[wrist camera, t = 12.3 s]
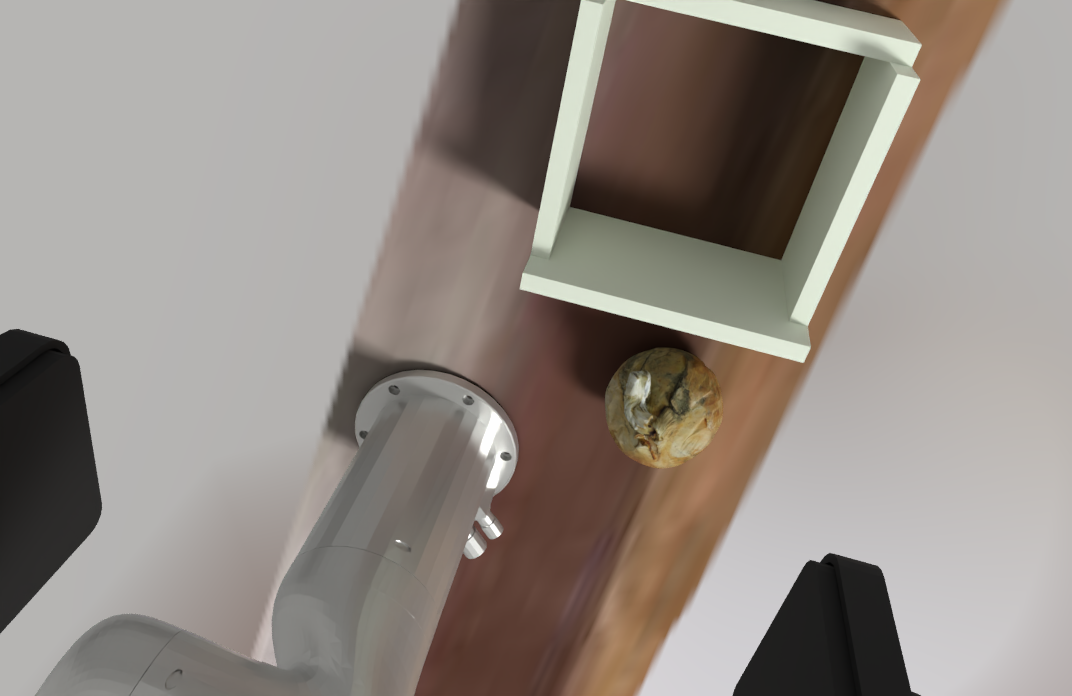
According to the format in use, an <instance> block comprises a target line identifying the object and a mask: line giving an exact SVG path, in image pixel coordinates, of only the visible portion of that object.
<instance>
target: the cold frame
mask: <svg viewBox="0 0 1072 696" xmlns="http://www.w3.org/2000/svg"><path fill="white" fill-rule="evenodd" d="M615 1H616V0H581V3H580V9H579V14H578V19H577V24H576V29H575V34H574V39H573V44H572V49H571V54H570V59H569V64H568V69H567V74H566V79H565V84H564V89H563V94H562V100H561V105H560V110H559V115H558V120H557V125H556V130H555V135H554V140H553V145H552V150H551V155H550V160H549V165H548V170H547V175H546V180H545V185H544V191H543V196H542V201H541V206H540V211H539V216H538V221H537V226H536V231H535V236H534V241H533V246H532V251H531V256H530V258H529V260H528V262H527V265H526V267H525V269H524V271H523V275H522V280H521V285H520V289H522V290H525V291H529V292H533V293H537V294H541V295H545V296H548V297H552V298H556V299H560V300H564V301H568V302H571V303H575V304H579V305H583V306H587V307H591V308H595V309H598V310H602V311H606V312H610V313H614V314H618V315H621V316H625V317H629V318H633V319H637V320H641V321H645V322H648V323H652V324H656V325H660V326H664V327H668V328H671V329H675V330H679V331H683V332H687V333H691V334H695V335H698V336H702V337H706V338H710V339H714V340H718V341H721V342H725V343H729V344H733V345H737V346H741V347H745V348H748V349H752V350H756V351H760V352H764V353H768V354H771V355H775V356H779V357H783V358H787V359H791V360H795V361H798V362H802V363H804V361H805V359H806V356H807V354H808V352H809V350H810V348H811V345H810V339H809V332H808V324H809V322H810V320H811V318H812V315H813V313H814V311H815V309H816V307H817V305H818V302H819V300H820V298H821V296H822V294H823V291H824V289H825V287H826V285H827V283H828V280H829V278H830V276H831V274H832V272H833V270H834V267H835V265H836V263H837V261H838V259H839V256H840V254H841V252H842V250H843V248H844V246H845V243H846V241H847V239H848V237H849V235H850V232H851V230H852V228H853V226H854V224H855V222H856V219H857V217H858V215H859V213H860V211H861V208H862V206H863V204H864V202H865V200H866V197H867V195H868V193H869V191H870V189H871V187H872V184H873V182H874V180H875V178H876V176H877V173H878V171H879V169H880V167H881V165H882V163H883V160H884V158H885V156H886V154H887V152H888V149H889V147H890V145H891V143H892V141H893V139H894V136H895V134H896V132H897V130H898V128H899V125H900V123H901V121H902V119H903V117H904V114H905V112H906V110H907V108H908V106H909V104H910V101H911V99H912V97H913V95H914V93H915V90H916V88H917V86H918V84H919V82H920V80H921V79H920V78H919V77H918V75H917V74H916V73H915V71H914V70H913V68H912V65H913V63H914V61H915V59H916V57H917V54H918V52H919V50H920V48H921V45H922V44H921V43H920V42H919V41H918V40H917V38H916V37H915V36H914V35H913V34H912V32H911V31H910V30H909V29H908V28H907V27H906V25H905V24H904V23H903V22H902V21H901V20H896V19H892V18H888V17H884V16H879V15H875V14H871V13H866V12H862V11H858V10H853V9H849V8H845V7H840V6H836V5H832V4H828V3H823V2H819V1H815V0H628V1H632V2H636V3H641V4H645V5H649V6H653V7H658V8H662V9H666V10H670V11H675V12H679V13H683V14H687V15H692V16H696V17H700V18H704V19H709V20H713V21H717V22H721V23H726V24H730V25H734V26H738V27H743V28H747V29H751V30H755V31H760V32H764V33H768V34H772V35H777V36H781V37H785V38H789V39H794V40H798V41H802V42H806V43H811V44H815V45H819V46H823V47H828V48H832V49H836V50H840V51H845V52H849V53H853V54H857V55H861V56H865V57H864V60H863V62H862V65H861V67H860V69H859V72H858V74H857V77H856V79H855V82H854V84H853V86H852V89H851V91H850V94H849V96H848V99H847V101H846V104H845V106H844V108H843V111H842V113H841V116H840V118H839V121H838V123H837V125H836V128H835V130H834V133H833V135H832V138H831V140H830V143H829V145H828V147H827V150H826V152H825V155H824V157H823V160H822V162H821V164H820V167H819V169H818V172H817V174H816V177H815V179H814V182H813V184H812V186H811V189H810V191H809V194H808V196H807V199H806V201H805V204H804V206H803V208H802V211H801V213H800V216H799V218H798V221H797V223H796V225H795V228H794V230H793V233H792V235H791V238H790V240H789V243H788V245H787V247H786V250H785V252H784V255H783V257H782V260H778V259H774V258H770V257H766V256H762V255H758V254H754V253H750V252H746V251H742V250H738V249H734V248H731V247H727V246H723V245H719V244H715V243H711V242H707V241H703V240H699V239H695V238H691V237H687V236H683V235H679V234H675V233H671V232H667V231H663V230H659V229H655V228H651V227H647V226H643V225H639V224H636V223H632V222H628V221H624V220H620V219H616V218H612V217H608V216H604V215H600V214H596V213H592V212H588V211H584V210H580V209H576V208H572V207H570V204H571V200H572V195H573V191H574V186H575V182H576V177H577V172H578V168H579V163H580V159H581V154H582V150H583V145H584V141H585V136H586V132H587V127H588V123H589V118H590V114H591V109H592V105H593V100H594V96H595V91H596V87H597V82H598V78H599V73H600V69H601V64H602V60H603V55H604V51H605V46H606V42H607V37H608V33H609V28H610V24H611V19H612V15H613V10H614V6H615Z"/></svg>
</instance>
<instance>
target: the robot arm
mask: <svg viewBox="0 0 1072 696" xmlns="http://www.w3.org/2000/svg"><path fill="white" fill-rule="evenodd" d="M355 435H356V439H357V442H358V445H359V450H358V451H357V453H356V455H355V457H354V458H353V460H352V462H351V464H350V465H349V467H348V469H347V470H346V472H345V474H344V476H343V477H342V479H341V481H340V483H339V484H338V486H337V488H336V489H335V491H334V493H333V495H332V496H331V498H330V500H329V502H328V503H327V505H326V507H325V508H324V510H323V512H322V514H321V515H320V517H319V519H318V521H317V522H316V524H315V526H314V527H313V529H312V531H311V533H310V534H309V536H308V538H307V540H306V541H305V543H304V545H303V546H302V548H301V550H300V552H299V553H298V555H297V557H296V559H295V560H294V562H293V563H292V565H291V566H290V568H289V570H288V572H287V573H286V575H285V577H284V579H283V580H282V583H281V585H280V587H279V589H278V592H277V595H276V599H275V602H274V607H273V615H272V639H273V646H274V653H275V658H276V663H277V667H275V666H273V665H270V664H267V663H265V662H259V661H257V660H255V659H252V658H250V657H248V656H245V655H243V654H241V653H238V652H236V651H233V650H231V649H229V648H227V647H224V646H222V645H220V644H217V643H214V642H213V641H210V640H208V639H205V638H203V637H201V636H198V635H196V634H194V633H192V632H189V631H187V630H184V629H181V628H179V627H176V626H174V625H172V624H169V623H167V622H164V621H161V620H158V619H155V618H152V617H149V616H145V615H138V614H121V615H116V616H112V617H110V618H107V619H105V620H103V621H101V622H99V623H98V624H96V625H94V626H93V627H92V628H90V629H89V630H88V631H87V632H85V633H84V634H83V635H82V636H81V637H80V638H79V639H78V640H77V641H76V642H75V643H74V644H73V645H72V647H71V648H70V649H69V650H68V651H67V652H66V654H65V655H64V656H63V657H62V658H61V660H60V661H59V662H58V664H57V665H56V666H55V668H54V669H53V670H52V672H51V673H50V675H49V676H48V677H47V678H46V680H45V682H44V683H43V684H42V686H41V688H40V689H39V690H38V692H37V693H36V695H35V696H414V693H415V690H416V687H417V683H418V680H419V677H420V674H421V671H422V668H423V665H424V662H425V659H426V656H427V653H428V650H429V648H430V645H431V642H432V639H433V636H434V633H435V631H436V627H437V624H438V621H439V618H440V615H441V613H442V610H443V607H444V604H445V601H446V599H447V596H448V593H449V590H450V587H451V585H452V582H453V579H454V576H455V573H456V571H457V568H458V565H459V562H460V559H461V556H462V554H463V553H464V554H465V556H466V557H467V558H469V559H473V558H476V557H478V556H480V555H481V554H482V553H483V552H484V551H485V549H486V547H487V543H486V541H485V540H484V539H483V537H482V536H481V534H480V533H479V532H478V530H477V529H476V528H475V527H474V526H473V523H474V521H475V520H477V521H478V523H479V524H480V527H481V528H482V530H483V531H484V532H485V534H486V535H487V536H488V538H489V539H495V538H497V537H498V536H499V535H501V533H502V532H503V527H502V525H501V524H500V522H499V521H498V519H497V518H496V517H495V516H494V515H493V514H492V513H491V511H490V507H491V506H490V504H491V501H492V498H493V496H495V495H496V494H497V493H499V492H500V491H501V490H502V489H503V488H504V487H505V486H506V485H507V484H508V483H509V481H510V479H511V477H512V475H513V473H514V470H515V467H516V464H517V460H518V451H519V445H518V439H517V434H516V432H515V429H514V427H513V424H512V422H511V420H510V419H509V417H508V416H507V414H506V413H505V411H504V410H503V409H502V407H501V406H500V405H499V404H498V403H497V402H496V401H495V400H494V399H493V398H492V397H491V396H489V395H488V394H487V393H485V392H484V391H483V390H482V389H480V388H479V387H477V386H475V385H473V384H471V383H470V382H468V381H466V380H464V379H461V378H459V377H456V376H453V375H451V374H447V373H442V372H437V371H431V370H411V371H403V372H399V373H396V374H393V375H390V376H388V377H386V378H384V379H382V380H381V381H379V382H377V383H376V384H375V385H374V386H373V387H372V388H371V389H370V390H369V391H368V393H367V394H366V396H365V397H364V399H363V400H362V402H361V404H360V406H359V408H358V410H357V413H356V419H355ZM101 510H102V502H101V495H100V489H99V483H98V477H97V471H96V465H95V459H94V452H93V446H92V440H91V434H90V428H89V421H88V416H87V409H86V403H85V397H84V391H83V384H82V378H81V372H80V366H79V363H78V360H77V359H76V358H75V357H73V356H71V354H70V351H69V348H68V346H67V345H66V344H65V343H64V342H62V341H59V340H56V339H52V338H49V337H45V336H42V335H38V334H34V333H31V332H27V331H24V330H20V329H14V330H9V331H7V332H5V333H3V334H1V335H0V633H1V632H2V631H3V630H4V629H5V628H6V626H7V625H8V624H9V623H10V622H11V621H12V620H13V619H14V618H15V617H16V615H17V614H18V613H19V612H20V611H21V610H22V609H23V608H24V607H25V605H26V604H27V603H28V602H29V601H30V600H31V599H32V598H33V597H34V596H35V594H36V593H37V592H38V591H39V590H40V589H41V588H42V587H43V585H44V584H45V583H46V582H47V581H48V580H49V579H50V578H51V577H52V576H53V574H54V573H55V572H56V571H57V570H58V569H59V568H60V567H61V566H62V565H63V563H64V562H65V561H66V560H67V559H68V558H69V557H70V556H71V555H72V553H73V552H74V551H75V550H76V549H77V548H78V547H79V546H80V545H81V544H82V542H83V541H84V540H85V539H86V538H87V537H88V536H89V535H90V533H91V532H92V531H93V530H94V528H95V526H96V525H97V523H98V520H99V518H100V515H101ZM733 696H921V695H919V694H916V693H914V692H911V689H910V684H909V680H908V676H907V672H906V668H905V663H904V660H903V655H902V651H901V646H900V642H899V638H898V634H897V630H896V625H895V621H894V617H893V613H892V608H891V604H890V600H889V596H888V592H887V587H886V583H885V579H884V576H883V573H882V570H881V569H880V568H879V567H878V566H876V565H872V564H868V563H865V562H861V561H858V560H854V559H851V558H847V557H843V556H840V555H836V554H831V553H829V554H827V555H826V556H825V557H824V558H823V559H822V561H821V562H820V563H819V562H816V561H811V560H810V561H808V562H807V563H806V564H805V566H804V567H803V569H802V571H801V573H800V574H799V576H798V578H797V580H796V582H795V583H794V585H793V587H792V589H791V590H790V592H789V594H788V595H787V597H786V599H785V601H784V602H783V604H782V606H781V608H780V610H779V611H778V613H777V615H776V616H775V618H774V620H773V622H772V624H771V625H770V627H769V629H768V631H767V633H766V634H765V636H764V638H763V639H762V641H761V643H760V645H759V646H758V648H757V650H756V652H755V653H754V655H753V657H752V659H751V661H750V662H749V664H748V666H747V667H746V669H745V671H744V673H743V674H742V676H741V678H740V680H739V682H738V683H737V685H736V687H735V689H734V693H733Z"/></svg>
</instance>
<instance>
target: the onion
mask: <svg viewBox="0 0 1072 696" xmlns="http://www.w3.org/2000/svg"><path fill="white" fill-rule="evenodd" d="M605 409H606V420H607V424H608V427H609V431H610V434H611V435H612V437H613V439H614V441H615V442H616V444H617V446H618V447H619V448H620V450H621V451H622V452H623V453H624V454H626V455H627V456H628V457H630V458H631V459H633V460H635V461H637V462H639V463H641V464H643V465H646V466H650V467H653V468H658V469H660V468H669V467H674V466H678V465H680V464H682V463H684V462H686V461H688V460H690V459H692V458H693V457H695V456H696V455H698V454H699V453H700V452H702V451H703V450H704V449H705V448H706V447H707V446H708V445H709V443H710V442H711V441H712V439H713V437H714V435H715V433H716V431H717V430H718V428H719V426H720V424H721V421H722V414H723V403H722V395H721V389H720V386H719V383H718V381H717V378H716V376H715V374H714V373H713V372H712V371H711V370H710V369H708V368H707V367H706V366H705V364H704V362H702V361H701V360H700V359H699V358H698V357H696V356H694V355H692V354H690V353H688V352H686V351H683V350H680V349H675V348H655V349H651V350H648V351H644V352H641V353H638V354H636V355H634V356H632V357H631V358H629V359H628V360H626V361H625V362H624V363H623V364H622V365H621V366H620V368H619V369H618V370H617V372H616V373H615V374H614V376H613V377H612V379H611V381H610V383H609V385H608V387H607V389H606V394H605Z"/></svg>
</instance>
